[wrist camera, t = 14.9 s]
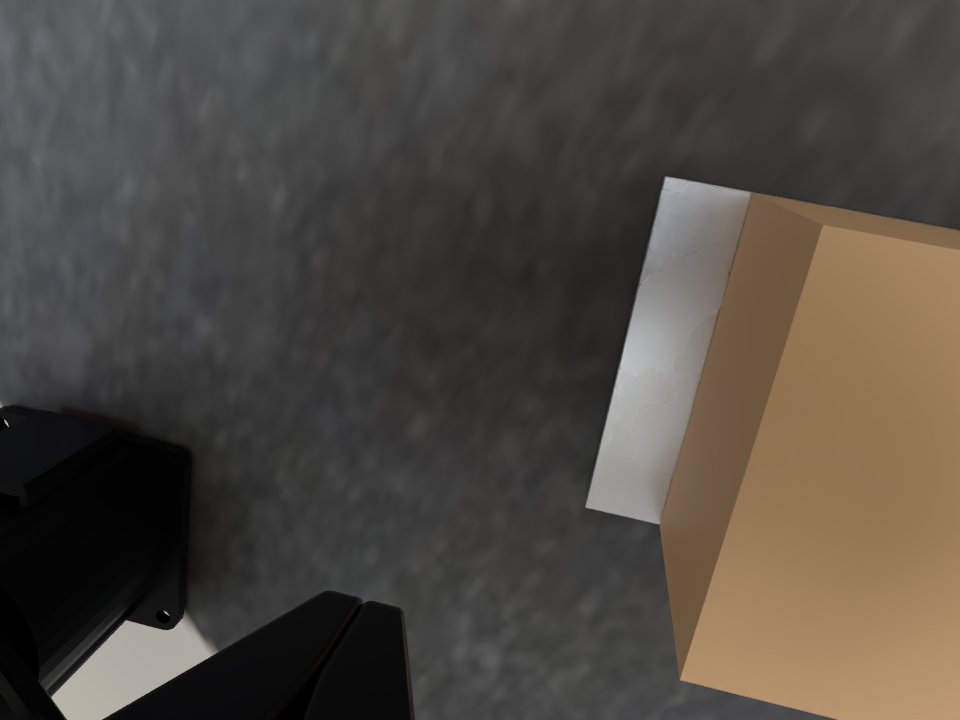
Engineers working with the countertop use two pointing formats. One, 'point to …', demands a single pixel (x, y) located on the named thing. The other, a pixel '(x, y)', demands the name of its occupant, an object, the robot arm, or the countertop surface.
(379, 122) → the countertop surface
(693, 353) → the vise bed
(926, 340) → the tan block
